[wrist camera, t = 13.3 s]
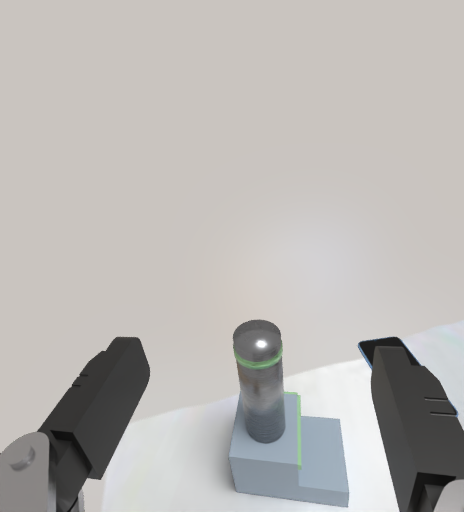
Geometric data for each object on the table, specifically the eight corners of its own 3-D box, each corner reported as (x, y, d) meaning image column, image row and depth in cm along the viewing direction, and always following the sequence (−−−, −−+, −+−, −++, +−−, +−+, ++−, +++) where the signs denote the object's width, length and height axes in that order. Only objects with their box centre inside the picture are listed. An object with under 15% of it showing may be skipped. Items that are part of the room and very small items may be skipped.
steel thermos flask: (287, 407, 36) (282, 319, 30) (285, 447, 32) (280, 355, 26) (248, 403, 37) (236, 318, 31) (242, 441, 33) (227, 352, 27)
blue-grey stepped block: (338, 431, 40) (340, 394, 37) (347, 507, 33) (351, 470, 30) (246, 423, 43) (240, 388, 39) (236, 492, 35) (228, 456, 32)
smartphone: (406, 424, 39) (355, 341, 53) (405, 428, 40) (355, 344, 53) (463, 415, 39) (398, 334, 53) (462, 419, 40) (397, 338, 53)
